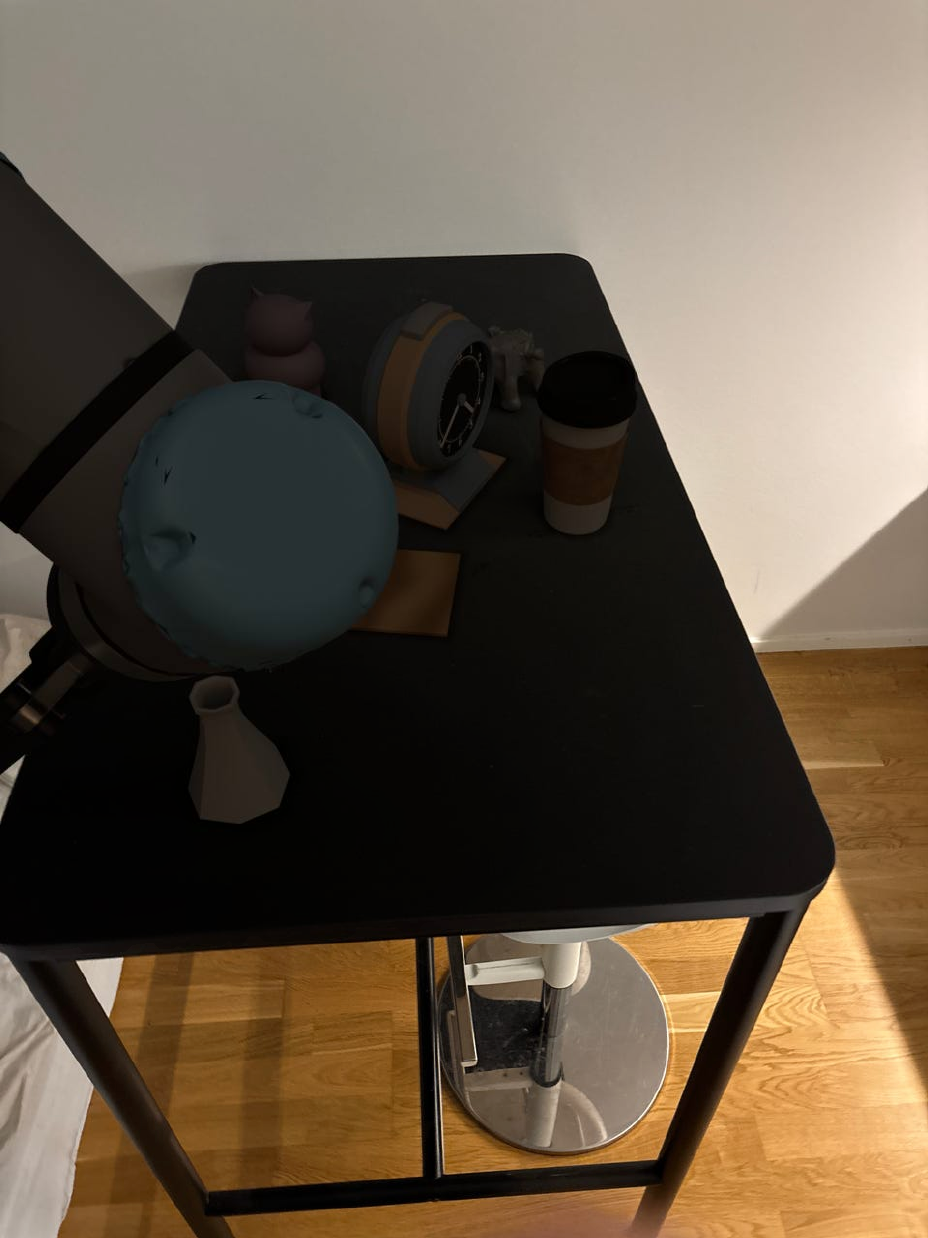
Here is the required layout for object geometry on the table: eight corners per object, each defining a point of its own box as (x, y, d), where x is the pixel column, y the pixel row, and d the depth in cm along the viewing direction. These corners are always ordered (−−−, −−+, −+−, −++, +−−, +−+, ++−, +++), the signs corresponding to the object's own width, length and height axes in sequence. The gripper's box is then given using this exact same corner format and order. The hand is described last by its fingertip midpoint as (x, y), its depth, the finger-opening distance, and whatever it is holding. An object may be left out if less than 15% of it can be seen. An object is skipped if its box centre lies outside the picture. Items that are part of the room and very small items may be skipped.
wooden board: (303, 626, 82) (303, 622, 81) (328, 547, 89) (328, 544, 88) (446, 637, 81) (446, 634, 80) (460, 556, 88) (460, 553, 87)
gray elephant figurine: (557, 384, 107) (561, 320, 102) (515, 443, 100) (517, 376, 94) (479, 366, 110) (480, 302, 105) (433, 422, 103) (430, 356, 97)
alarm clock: (440, 536, 90) (435, 364, 77) (350, 505, 93) (331, 335, 80) (510, 454, 98) (515, 288, 86) (425, 428, 102) (419, 264, 89)
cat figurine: (236, 409, 104) (215, 304, 96) (279, 374, 109) (263, 271, 101) (303, 430, 102) (287, 324, 93) (344, 393, 106) (333, 289, 98)
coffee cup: (639, 521, 91) (662, 379, 80) (568, 556, 88) (581, 412, 77) (582, 476, 96) (596, 336, 85) (512, 507, 92) (517, 366, 82)
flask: (288, 737, 73) (268, 645, 66) (293, 818, 68) (272, 729, 61) (189, 751, 73) (159, 659, 65) (187, 834, 68) (153, 745, 60)
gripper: (5, 914, 35) (-29, 852, 53) (405, 446, 45) (260, 529, 63) (-180, 784, 33) (-149, 766, 51) (285, 320, 42) (171, 445, 61)
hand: (78, 635), depth 57 cm, fingers open, 13 cm apart
